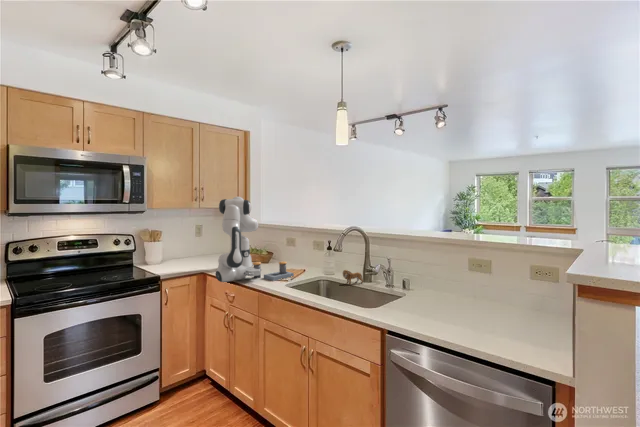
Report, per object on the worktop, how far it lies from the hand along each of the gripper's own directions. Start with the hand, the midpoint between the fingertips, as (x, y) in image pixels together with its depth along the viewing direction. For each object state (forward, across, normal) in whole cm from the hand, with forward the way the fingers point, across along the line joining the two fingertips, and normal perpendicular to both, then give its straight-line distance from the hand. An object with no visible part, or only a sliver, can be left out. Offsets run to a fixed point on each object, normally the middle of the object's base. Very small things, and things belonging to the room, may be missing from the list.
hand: (258, 269), depth 225 cm
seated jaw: (+13, -11, +6) cm, 18 cm away
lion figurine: (+31, -58, +6) cm, 66 cm away
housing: (+9, -11, +6) cm, 15 cm away
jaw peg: (-1, 0, +6) cm, 6 cm away
